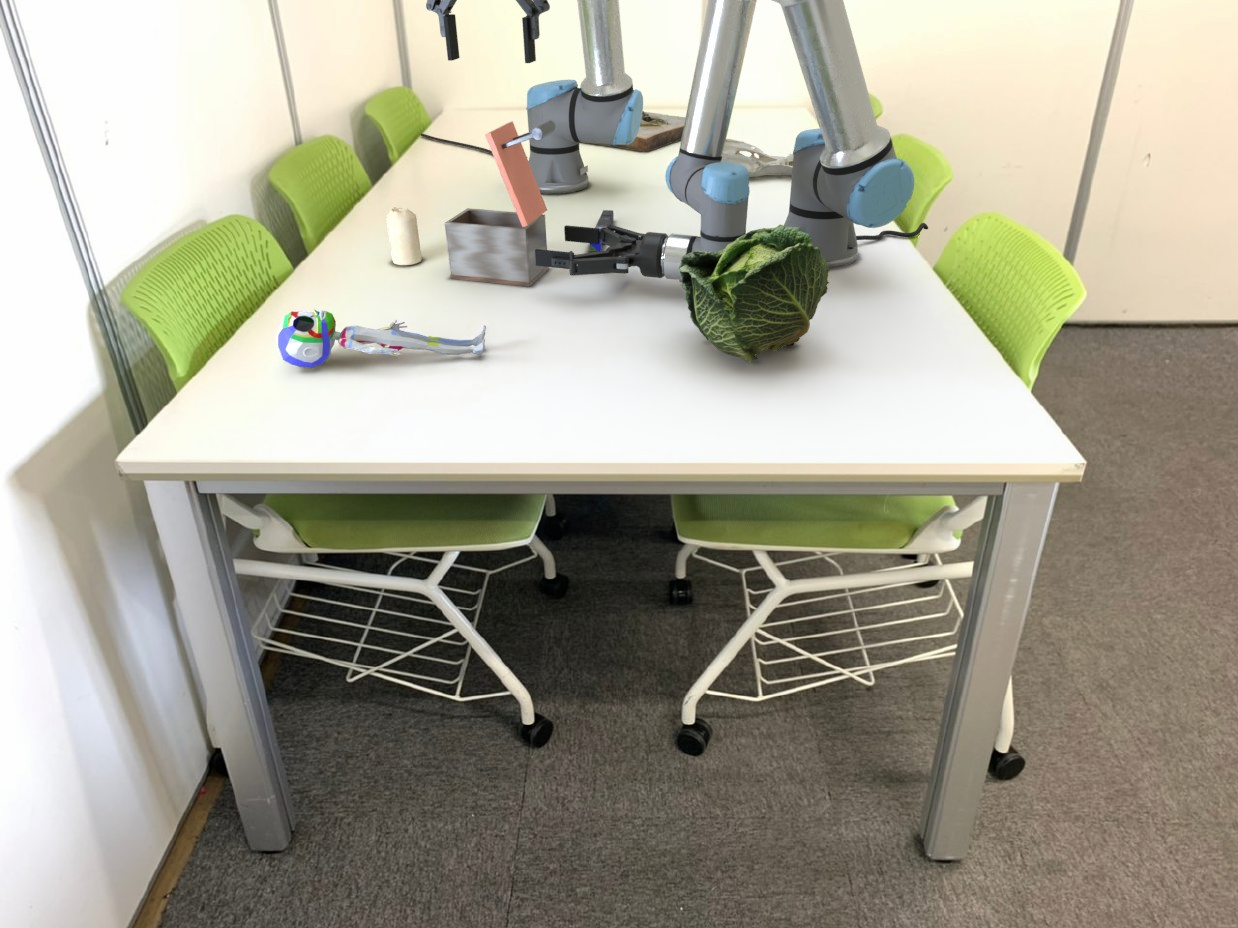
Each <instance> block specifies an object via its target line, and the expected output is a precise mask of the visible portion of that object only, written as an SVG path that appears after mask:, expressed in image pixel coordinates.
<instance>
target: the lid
mask: <svg viewBox="0 0 1238 928" xmlns="http://www.w3.org/2000/svg"><path fill="white" fill-rule="evenodd" d="M555 129H556V126H555V123H554V122H553V121H550V120H549V121H546V122H544V123H543V124H541V125H539V126H537V127H535V128H534V129H533V130H532V131H531V132H529V131H528V132H525V133H522V134H520V135H519V134H518V131H517V129H516V126H515V124H514V121H509V122H507V123H505V124H502V125H501V126H498V127H497V128H495V129H493V130H491V131H489V132H487V133H485V134H484V136H485V139H486V141H487V144H488V146H489V148H490V149H489V150H491V151H492V153H493V154H492V155H493V158H494V161H495V163H496V166H497V168H498V171H499V173H500V176H501V178H502V181H503V183H504V185H505V187H506V190H507V193H508V195H509V197H510V200H511V203H512V206H513V208H514V211H515V212H517V215H518V217H519V220H520V222H521V225H522V227H524V226H528V225H529V224H530V223H532V222H533V221H534V220H535V219H537V218H538V217H539V216H541V215H542V214H543V215H544V214H545V213H546V212H547V211H548V208H547V205H546V202H545V200H544V197H543V195H542V193H541V192H540V190H539V187H538V185H537V182H536V180H535V177H534V175H533V172H532V169H531V167H530V164H529V158H528V157H527V155H526V152H525V150H524V147H523V144H522V143H523V142H526V141H529V139H532V138H534V139H535V140H541V139H543V138H545V137H546V136H548V135H550V134H551V133H553V132H554V131H555Z"/></svg>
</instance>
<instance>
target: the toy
mask: <svg viewBox="0 0 1238 928" xmlns="http://www.w3.org/2000/svg"><path fill="white" fill-rule="evenodd" d="M336 321H337V320H336V319H335V317H334V314H333V313H331V312H329V311H327V310H322V309H321V310H320V311H318V310H316V309H313V311H307V310H300V311H290V312H288V313H287V314H285V315H284V317H283V320H282V321H281V325H280V327H279V329H278V331H277V333H276V347H277V349H278V350H279V353H280V356H281V358H282V360H283V361H284V362H286V363H288V364H290V365H292V366H297V367H300V368H307V369H313V368H315V367H317V366H320V365H322V364H324V363H325V362H326V361H327V359H328V358H329V357H330V355H331V353H332V348H334V345H335V342H336V341H337V342H338V344H339V347H341V348H343V349H348V350H354V351H358V352H363V353H364V354H367V355H368V354H369V355H378V354H385V355H391V356H395V357H398V358H400V355H402V354H401V353H400V351H401V350H403V349H404V350H405V349H406V350H417V351H418V350H421V351H422V350H423V351H429V352H433V353H437V354H440V355H444V356H448V355H449V356H451V355H452V356H454V355H455V356H456V355H465V354H474V355H476V356H479V357H482V355H483V353H484V351H485V347H486V346H485V345H486V339H485V336H486V329H487V326H486V325H483V327H482V331H481V333H480V334H478V335H477V336H476V337H474V338H473V339H455V338H445V337H440V336H429V335H428V336H427V335H424V334H420V333H417V332H416V333H415V332H410V331H405V330H401V329H403V328H408V326H407V325H403V324H405V323H406V322H405V321H402V322H399V323H397V322H398V320H397V319H395V320H394V321H393V322H391V323H390V325H389V326H386V327H381V328H377V329H376V328H370V327H364V326H359V325H349V326H345V327H344V328H343V329H342V330H341V332H340V331H336V326H337V325H336V323H337V322H336ZM370 344H376V345H379V346H380V347H378V346H373V345H370Z"/></svg>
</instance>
